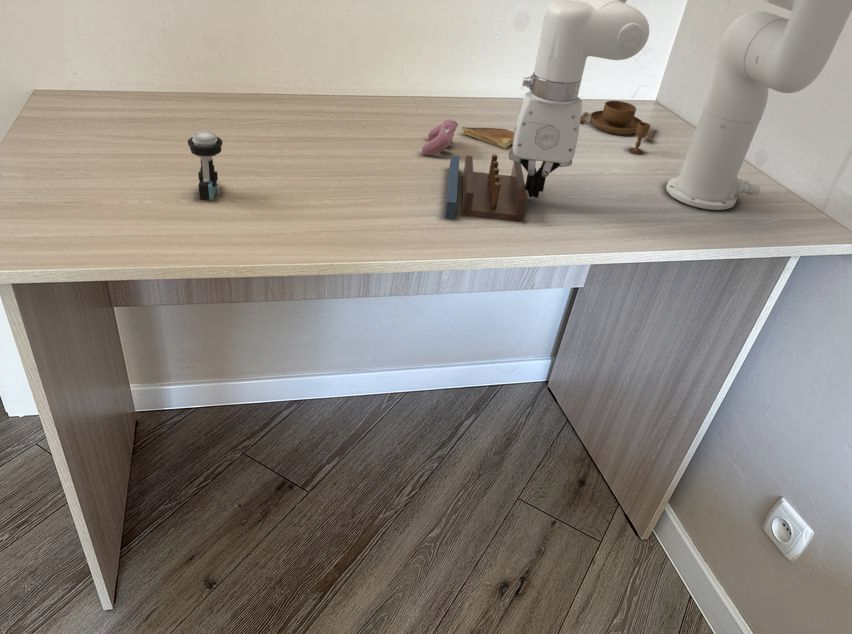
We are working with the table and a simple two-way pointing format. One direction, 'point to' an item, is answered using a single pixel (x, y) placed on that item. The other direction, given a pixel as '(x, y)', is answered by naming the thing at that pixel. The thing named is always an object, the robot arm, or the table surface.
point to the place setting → (620, 122)
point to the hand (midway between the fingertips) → (532, 194)
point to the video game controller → (440, 137)
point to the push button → (206, 161)
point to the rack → (494, 192)
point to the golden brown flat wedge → (491, 135)
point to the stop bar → (452, 187)
